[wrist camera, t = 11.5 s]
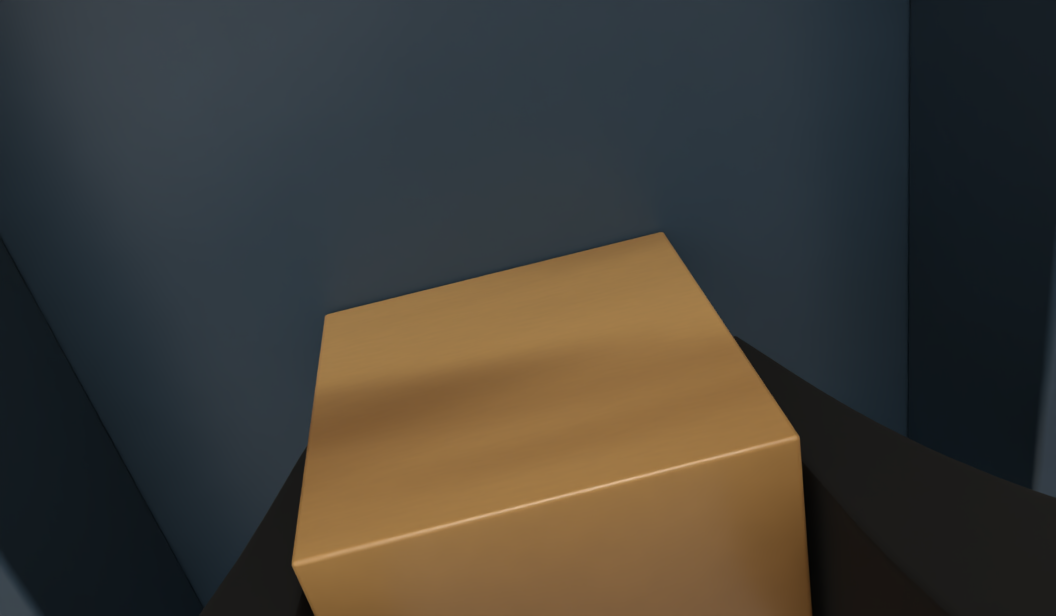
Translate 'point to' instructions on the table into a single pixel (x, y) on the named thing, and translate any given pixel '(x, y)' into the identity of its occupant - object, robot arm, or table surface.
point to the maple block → (549, 452)
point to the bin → (485, 228)
